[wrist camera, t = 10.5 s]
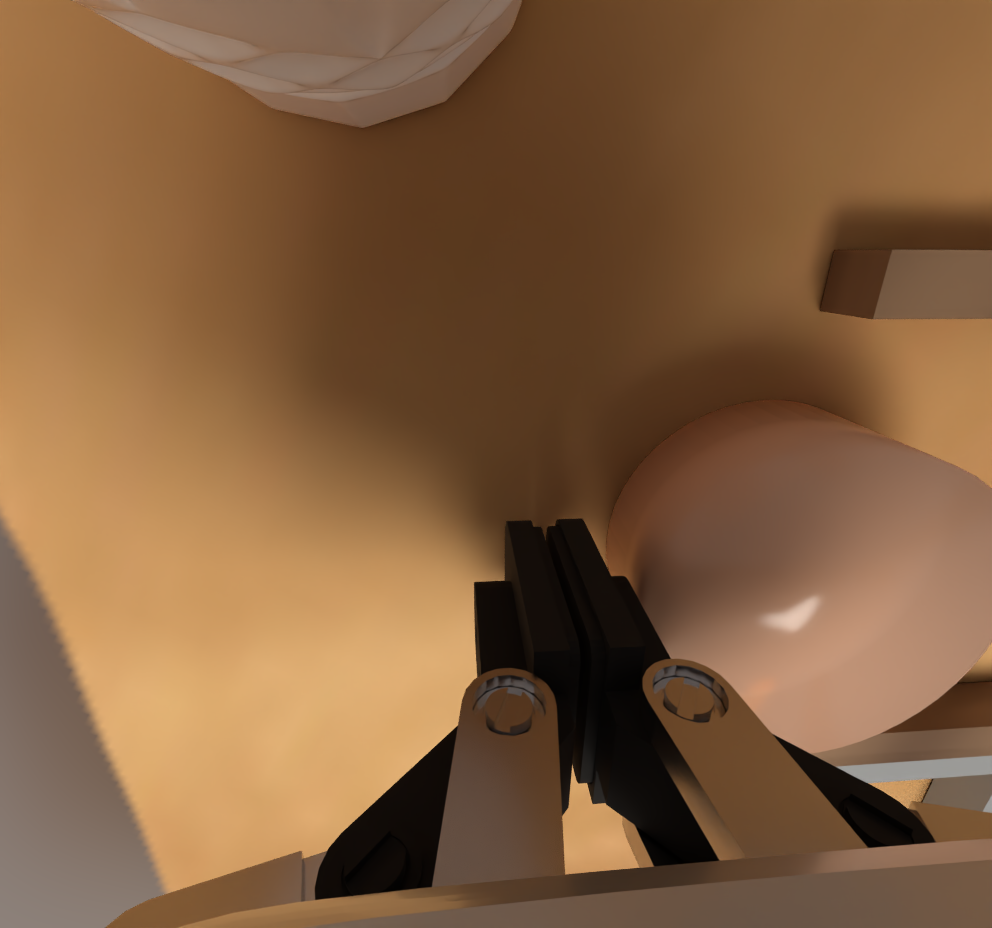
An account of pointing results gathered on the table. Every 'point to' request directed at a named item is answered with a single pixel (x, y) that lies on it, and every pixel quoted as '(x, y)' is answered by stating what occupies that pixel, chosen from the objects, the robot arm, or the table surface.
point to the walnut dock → (918, 295)
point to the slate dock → (939, 779)
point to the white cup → (326, 48)
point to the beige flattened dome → (809, 566)
